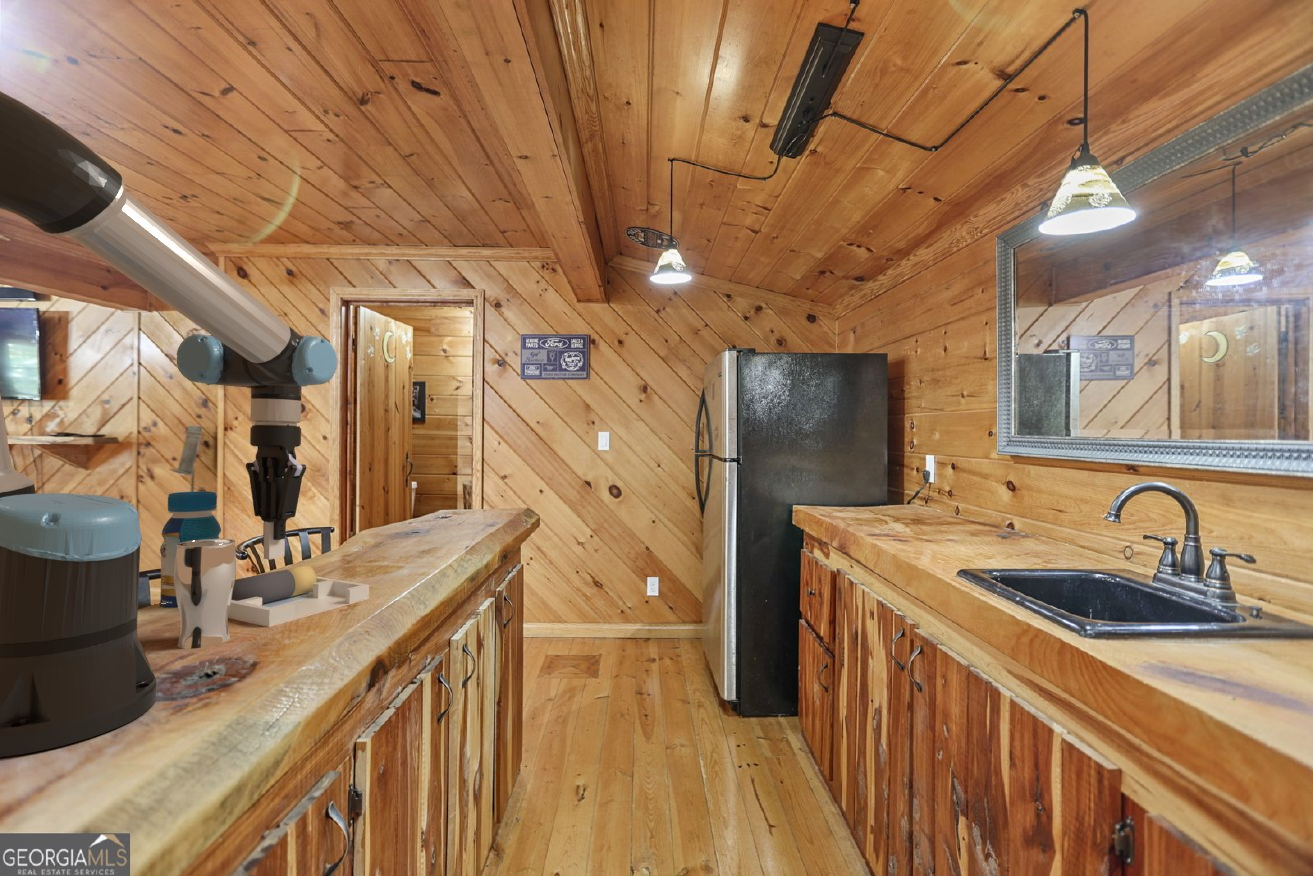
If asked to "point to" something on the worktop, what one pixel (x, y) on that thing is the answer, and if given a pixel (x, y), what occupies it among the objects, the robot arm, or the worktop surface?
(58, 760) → the worktop surface
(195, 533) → the beverage bottle
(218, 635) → the beer glass
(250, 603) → the beige holder tray
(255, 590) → the battery-shaped cylinder
